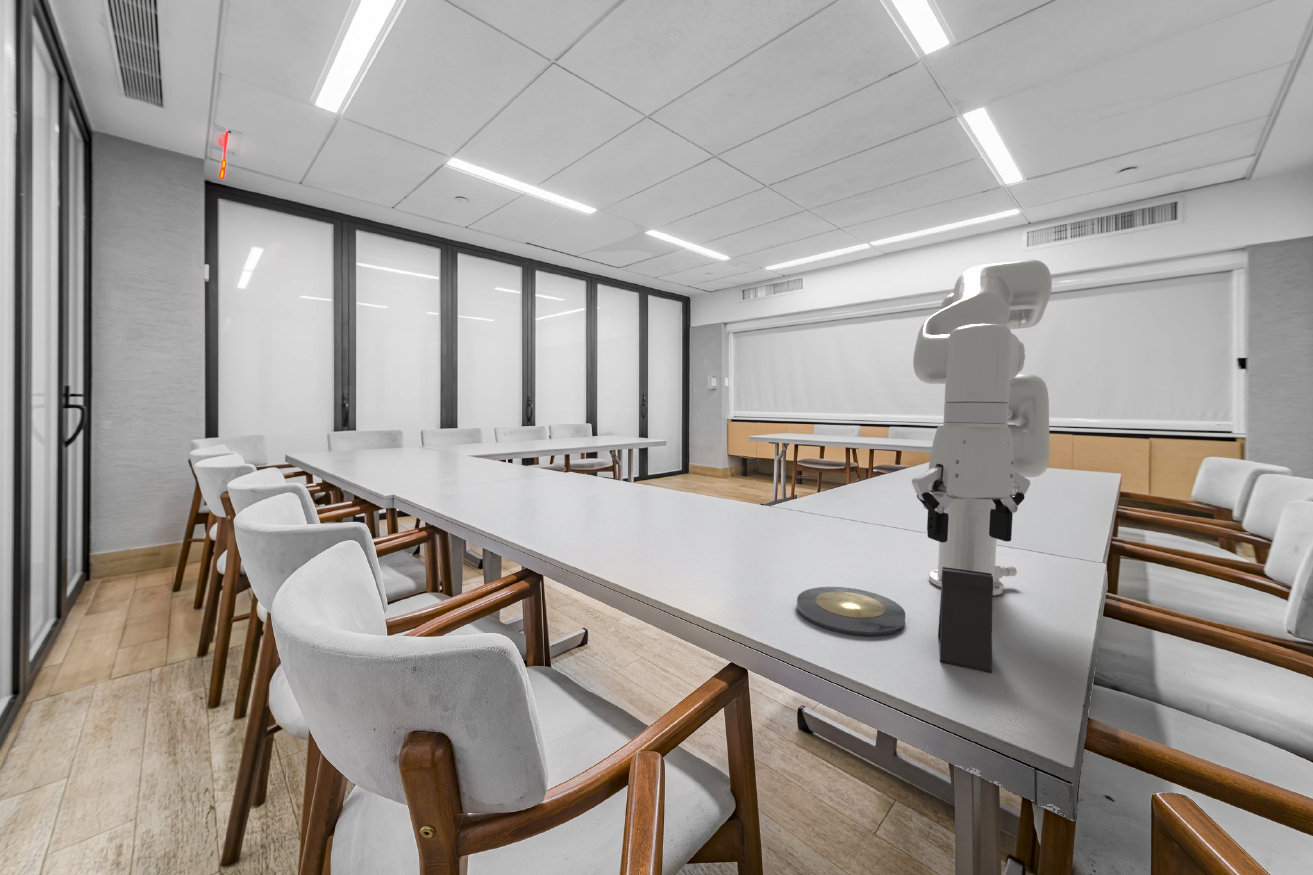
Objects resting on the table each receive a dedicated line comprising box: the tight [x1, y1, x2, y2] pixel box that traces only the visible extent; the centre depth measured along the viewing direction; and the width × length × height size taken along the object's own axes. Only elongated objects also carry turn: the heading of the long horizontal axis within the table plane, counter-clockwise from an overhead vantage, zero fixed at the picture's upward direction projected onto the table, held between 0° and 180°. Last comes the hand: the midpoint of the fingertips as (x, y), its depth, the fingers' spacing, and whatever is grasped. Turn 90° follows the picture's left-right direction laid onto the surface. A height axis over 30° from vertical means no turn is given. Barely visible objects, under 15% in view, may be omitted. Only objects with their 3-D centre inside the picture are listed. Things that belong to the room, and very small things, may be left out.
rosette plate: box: [796, 586, 906, 637], centre depth 86 cm, size 17×17×2 cm
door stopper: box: [937, 567, 993, 673], centre depth 72 cm, size 9×6×12 cm, turn 152°
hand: (968, 539), depth 71 cm, fingers open, 9 cm apart
